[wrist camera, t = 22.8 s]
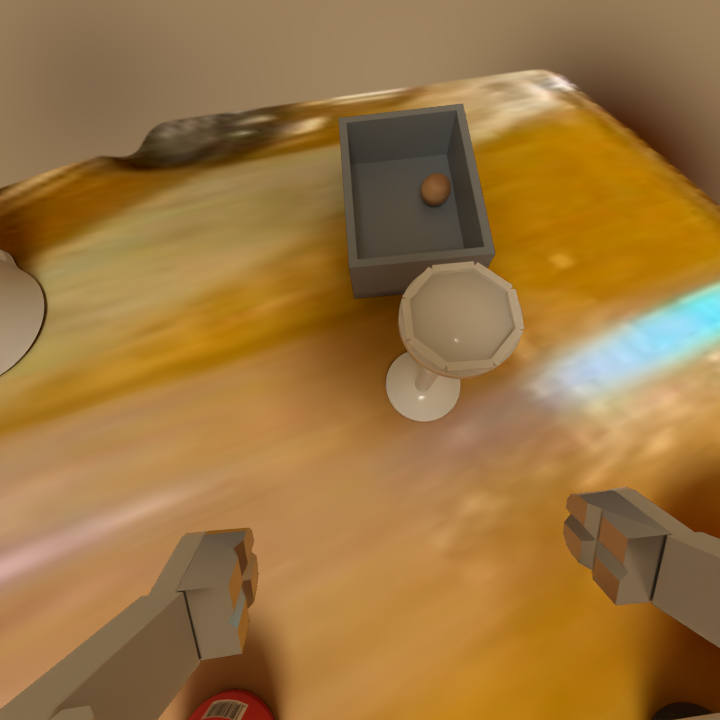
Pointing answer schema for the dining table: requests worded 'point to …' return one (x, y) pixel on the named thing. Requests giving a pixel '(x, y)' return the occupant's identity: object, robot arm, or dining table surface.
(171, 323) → the dining table surface
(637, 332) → the dining table surface
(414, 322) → the pedestal dish
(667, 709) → the travel mug
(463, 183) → the tray
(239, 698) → the canned food
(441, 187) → the ball
